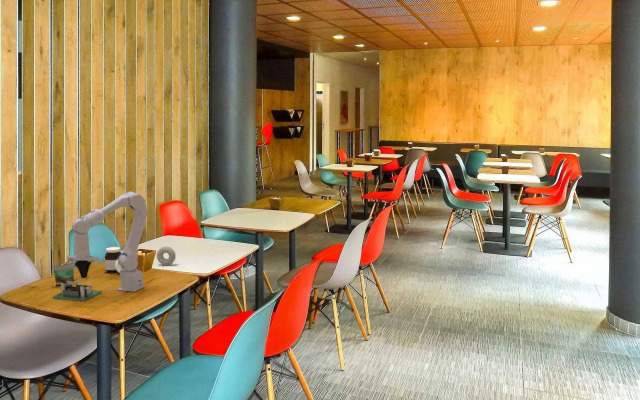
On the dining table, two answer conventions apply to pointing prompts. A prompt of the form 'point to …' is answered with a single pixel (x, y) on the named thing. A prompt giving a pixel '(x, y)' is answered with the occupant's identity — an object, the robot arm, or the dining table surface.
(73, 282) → the grey and orange bar
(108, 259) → the spread jar
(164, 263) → the donut
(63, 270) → the food container
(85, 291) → the green base metal fixture
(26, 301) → the dining table surface
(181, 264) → the dining table surface
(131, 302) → the dining table surface
